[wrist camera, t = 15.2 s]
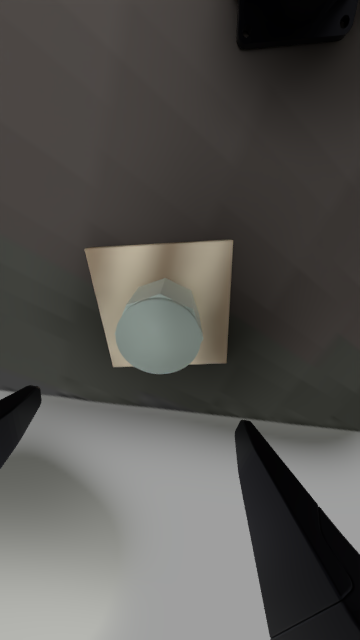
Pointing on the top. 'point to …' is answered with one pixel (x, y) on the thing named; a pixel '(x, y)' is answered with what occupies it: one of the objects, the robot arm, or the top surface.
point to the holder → (176, 265)
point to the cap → (160, 328)
